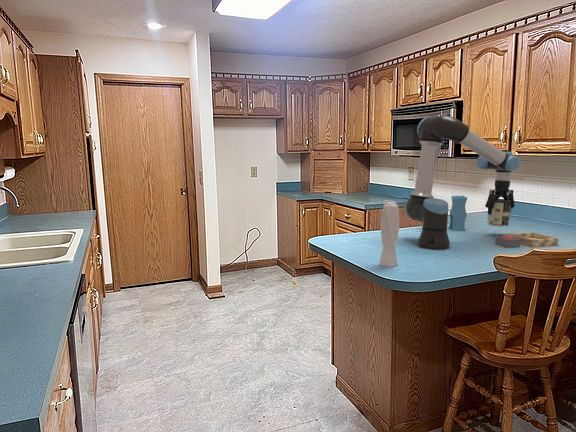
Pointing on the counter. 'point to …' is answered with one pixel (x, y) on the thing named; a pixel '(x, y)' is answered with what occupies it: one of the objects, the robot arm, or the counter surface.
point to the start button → (508, 236)
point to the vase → (458, 213)
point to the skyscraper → (389, 233)
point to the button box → (507, 242)
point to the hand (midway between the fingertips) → (498, 220)
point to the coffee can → (501, 213)
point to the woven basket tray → (536, 239)
